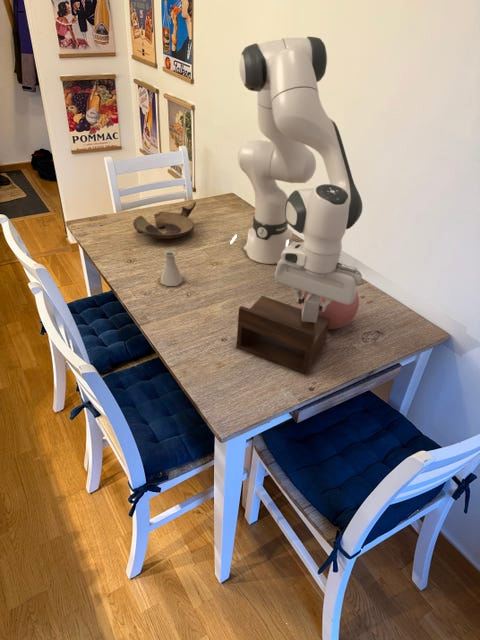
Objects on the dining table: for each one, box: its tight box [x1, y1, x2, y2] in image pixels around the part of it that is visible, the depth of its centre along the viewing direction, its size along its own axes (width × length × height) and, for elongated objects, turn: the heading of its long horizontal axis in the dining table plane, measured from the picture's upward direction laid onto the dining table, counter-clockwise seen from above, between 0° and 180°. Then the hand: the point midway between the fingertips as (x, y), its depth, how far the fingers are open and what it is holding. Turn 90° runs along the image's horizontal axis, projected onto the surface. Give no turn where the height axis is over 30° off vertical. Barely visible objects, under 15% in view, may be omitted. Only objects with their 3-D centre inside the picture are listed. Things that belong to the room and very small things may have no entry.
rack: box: [235, 295, 330, 376], centre depth 114 cm, size 14×20×13 cm
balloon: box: [318, 292, 360, 330], centre depth 125 cm, size 15×20×15 cm
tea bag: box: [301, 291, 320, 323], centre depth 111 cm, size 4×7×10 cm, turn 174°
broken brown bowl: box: [132, 201, 197, 239], centre depth 168 cm, size 22×30×8 cm
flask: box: [160, 250, 183, 287], centre depth 139 cm, size 7×7×10 cm
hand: (310, 306), depth 110 cm, fingers closed on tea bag, 4 cm apart
